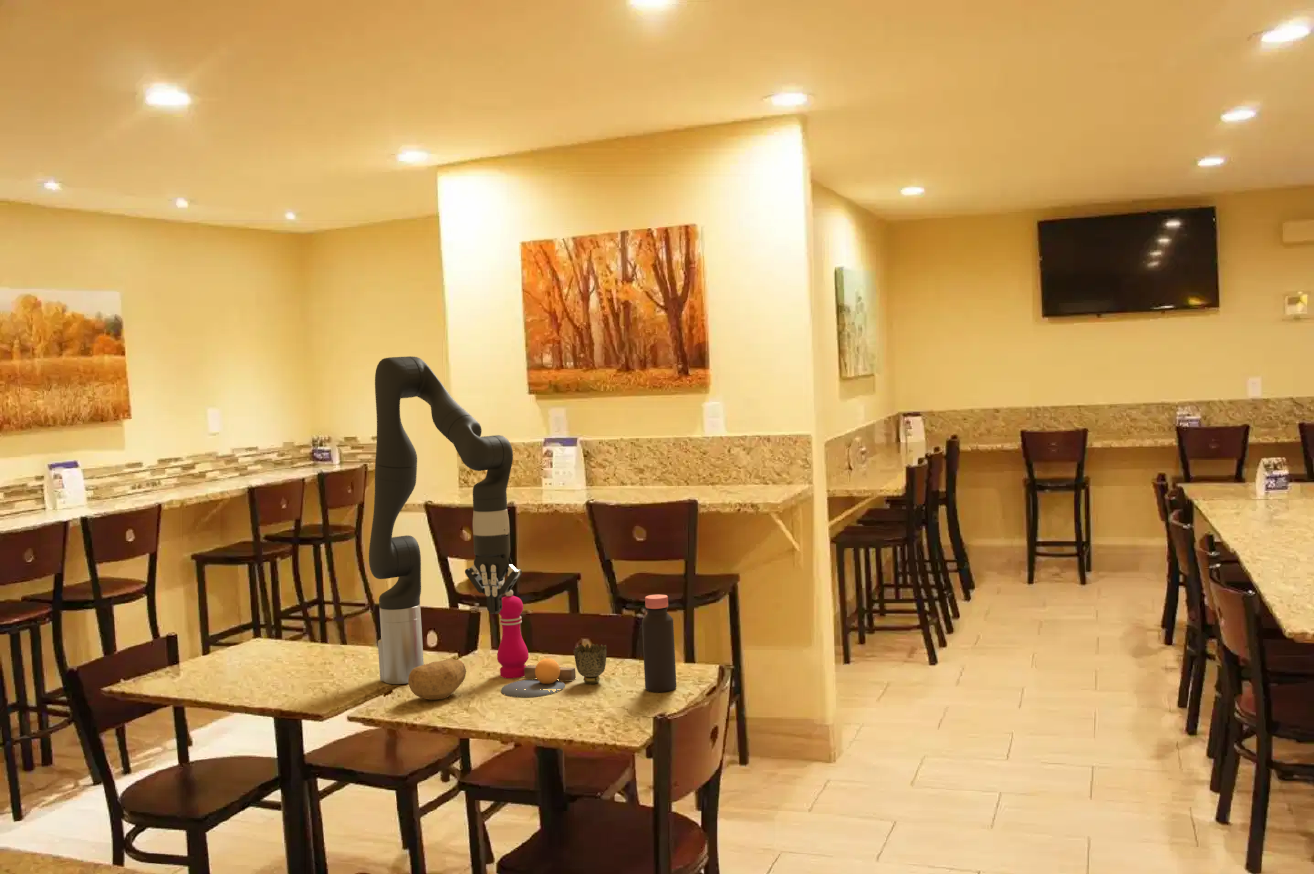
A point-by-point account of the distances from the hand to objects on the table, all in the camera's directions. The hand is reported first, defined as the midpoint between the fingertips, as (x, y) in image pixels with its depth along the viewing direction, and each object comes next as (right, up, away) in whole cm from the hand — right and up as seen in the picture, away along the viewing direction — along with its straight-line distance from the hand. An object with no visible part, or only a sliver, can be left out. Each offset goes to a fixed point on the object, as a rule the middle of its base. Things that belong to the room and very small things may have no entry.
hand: (495, 613), depth 227 cm
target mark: (+7, -18, +11) cm, 23 cm away
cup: (+19, -18, +14) cm, 30 cm away
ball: (+10, -15, +14) cm, 23 cm away
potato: (-13, -20, +8) cm, 25 cm away
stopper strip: (+10, -18, +19) cm, 28 cm away
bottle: (+35, -17, +6) cm, 39 cm away
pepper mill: (+1, -18, +23) cm, 30 cm away
